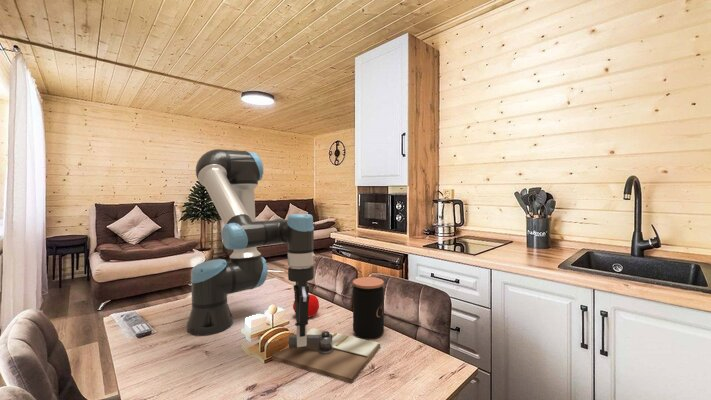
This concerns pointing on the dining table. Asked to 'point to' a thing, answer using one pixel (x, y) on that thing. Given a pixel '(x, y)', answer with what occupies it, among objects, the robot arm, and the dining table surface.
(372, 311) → the coffee jar
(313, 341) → the swing bar
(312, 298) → the tomato
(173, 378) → the dining table surface
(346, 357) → the lock board
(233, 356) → the dining table surface
